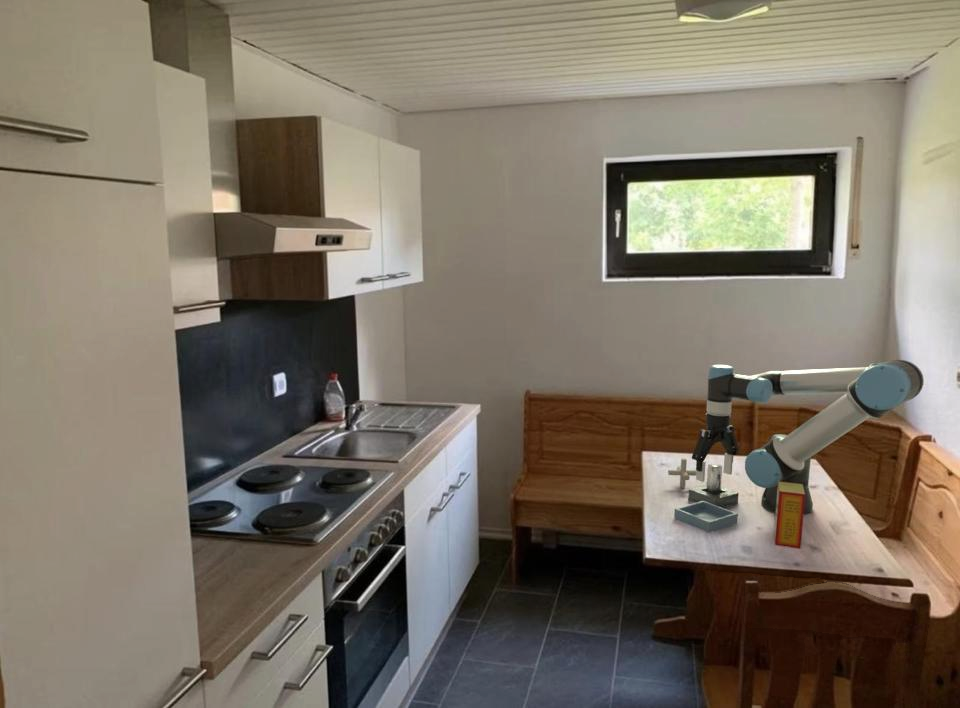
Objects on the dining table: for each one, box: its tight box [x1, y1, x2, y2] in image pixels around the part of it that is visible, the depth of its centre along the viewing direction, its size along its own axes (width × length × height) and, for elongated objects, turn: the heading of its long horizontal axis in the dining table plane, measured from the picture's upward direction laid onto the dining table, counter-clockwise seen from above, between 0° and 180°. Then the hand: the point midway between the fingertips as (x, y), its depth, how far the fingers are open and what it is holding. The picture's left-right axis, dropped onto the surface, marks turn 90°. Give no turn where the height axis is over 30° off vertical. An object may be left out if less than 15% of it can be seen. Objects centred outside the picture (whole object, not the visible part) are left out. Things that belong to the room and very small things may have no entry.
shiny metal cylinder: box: [706, 463, 723, 495], centre depth 235 cm, size 4×4×12 cm
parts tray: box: [673, 501, 739, 534], centre depth 219 cm, size 13×13×3 cm
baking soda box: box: [773, 481, 805, 550], centre depth 204 cm, size 10×6×16 cm
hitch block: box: [687, 483, 740, 508], centre depth 236 cm, size 11×11×4 cm
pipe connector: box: [667, 457, 697, 489], centre depth 249 cm, size 10×10×10 cm
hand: (714, 477), depth 235 cm, fingers open, 13 cm apart
